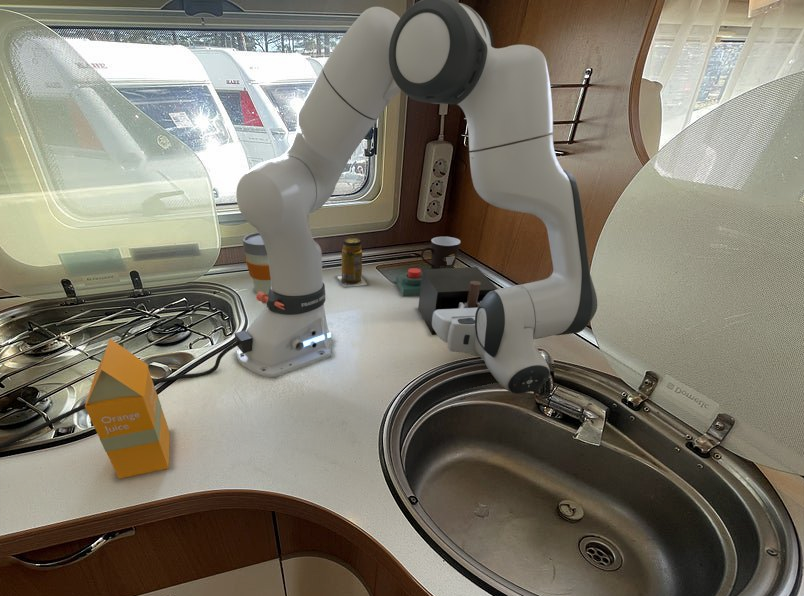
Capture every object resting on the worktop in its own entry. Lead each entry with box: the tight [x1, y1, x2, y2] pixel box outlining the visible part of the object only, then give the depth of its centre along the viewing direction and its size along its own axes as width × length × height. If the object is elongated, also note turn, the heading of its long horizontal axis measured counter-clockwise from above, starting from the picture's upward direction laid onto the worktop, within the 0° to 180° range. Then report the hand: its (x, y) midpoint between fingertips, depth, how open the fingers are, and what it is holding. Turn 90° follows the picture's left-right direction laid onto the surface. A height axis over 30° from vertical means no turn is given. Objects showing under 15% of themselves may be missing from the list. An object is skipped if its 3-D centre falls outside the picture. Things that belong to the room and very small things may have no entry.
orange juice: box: [85, 337, 171, 480], centre depth 64 cm, size 8×9×20 cm
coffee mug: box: [420, 236, 461, 269], centre depth 130 cm, size 12×9×10 cm
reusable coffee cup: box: [242, 231, 271, 295], centre depth 120 cm, size 13×13×15 cm
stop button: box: [407, 267, 422, 279], centre depth 120 cm, size 4×4×2 cm
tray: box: [441, 281, 481, 309], centre depth 100 cm, size 16×11×12 cm
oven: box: [417, 266, 499, 336], centre depth 104 cm, size 14×14×11 cm
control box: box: [395, 271, 422, 297], centre depth 122 cm, size 10×8×4 cm
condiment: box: [336, 237, 368, 288], centre depth 125 cm, size 7×8×12 cm
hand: (469, 304), depth 95 cm, fingers closed on tray, 2 cm apart
